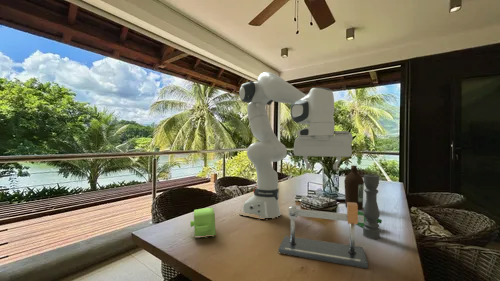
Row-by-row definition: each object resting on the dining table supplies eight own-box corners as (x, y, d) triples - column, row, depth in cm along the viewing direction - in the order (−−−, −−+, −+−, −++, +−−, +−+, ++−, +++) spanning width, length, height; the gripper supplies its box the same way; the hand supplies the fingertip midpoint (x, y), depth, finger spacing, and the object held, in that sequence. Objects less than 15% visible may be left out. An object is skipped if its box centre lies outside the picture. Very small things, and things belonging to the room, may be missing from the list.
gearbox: (191, 227, 106) (190, 206, 106) (212, 224, 108) (212, 204, 108) (190, 243, 88) (189, 218, 88) (216, 239, 90) (215, 215, 91)
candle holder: (360, 233, 98) (360, 174, 98) (373, 232, 98) (373, 174, 98) (368, 239, 92) (368, 176, 92) (383, 238, 92) (383, 176, 92)
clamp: (375, 239, 102) (385, 223, 99) (364, 236, 101) (373, 220, 98) (362, 220, 113) (370, 205, 110) (351, 218, 112) (359, 203, 109)
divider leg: (347, 253, 76) (347, 204, 76) (347, 247, 80) (346, 201, 80) (357, 255, 75) (357, 205, 75) (356, 248, 79) (356, 202, 79)
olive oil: (341, 207, 137) (341, 165, 137) (348, 204, 144) (348, 164, 144) (359, 211, 129) (359, 167, 129) (366, 207, 136) (366, 165, 137)
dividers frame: (286, 244, 83) (286, 207, 84) (289, 237, 89) (289, 203, 89) (365, 256, 75) (365, 215, 75) (363, 248, 81) (363, 209, 81)
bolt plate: (278, 253, 80) (278, 248, 80) (285, 239, 91) (285, 235, 91) (367, 268, 70) (367, 263, 70) (362, 251, 82) (362, 246, 82)
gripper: (351, 131, 83) (351, 169, 83) (295, 131, 90) (295, 167, 90) (353, 130, 77) (353, 171, 77) (292, 131, 84) (292, 168, 84)
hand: (321, 168), depth 84 cm, fingers open, 8 cm apart
